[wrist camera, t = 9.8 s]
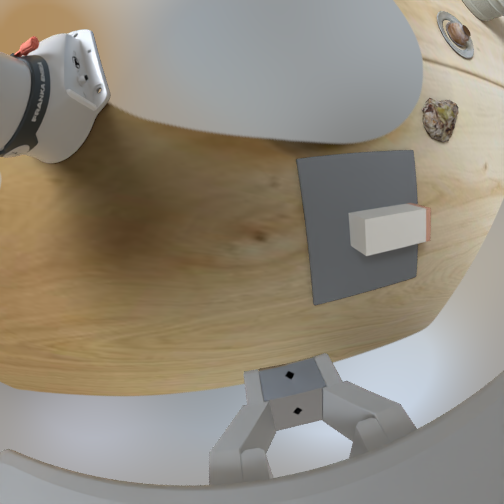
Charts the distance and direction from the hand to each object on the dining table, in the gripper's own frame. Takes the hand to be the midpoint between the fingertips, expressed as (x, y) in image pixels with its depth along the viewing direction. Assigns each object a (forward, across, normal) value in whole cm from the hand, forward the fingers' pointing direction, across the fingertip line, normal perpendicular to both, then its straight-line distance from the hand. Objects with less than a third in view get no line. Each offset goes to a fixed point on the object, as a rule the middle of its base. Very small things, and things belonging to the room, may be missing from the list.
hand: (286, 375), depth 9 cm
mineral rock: (+30, -37, -13) cm, 49 cm away
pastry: (+30, -51, -34) cm, 68 cm away
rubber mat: (+29, -19, +4) cm, 35 cm away
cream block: (+26, -16, +4) cm, 31 cm away
